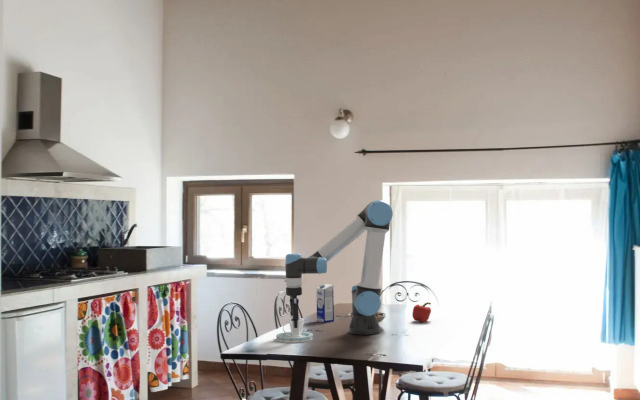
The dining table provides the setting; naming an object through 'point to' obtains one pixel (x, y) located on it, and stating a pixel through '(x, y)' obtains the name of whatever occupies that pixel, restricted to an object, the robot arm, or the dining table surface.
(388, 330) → the dining table surface
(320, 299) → the milk carton
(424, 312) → the vegetable
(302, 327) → the cup
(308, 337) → the saucer
